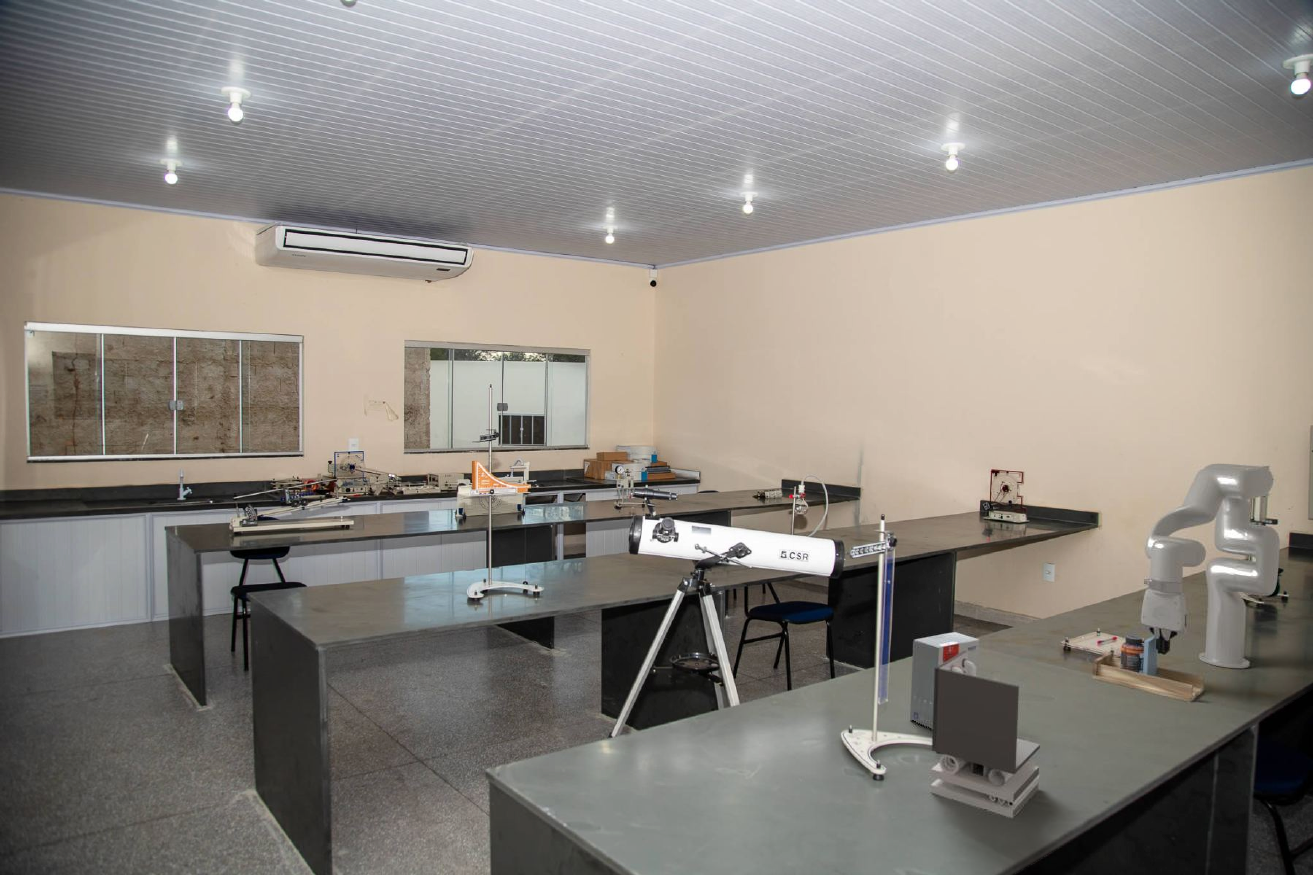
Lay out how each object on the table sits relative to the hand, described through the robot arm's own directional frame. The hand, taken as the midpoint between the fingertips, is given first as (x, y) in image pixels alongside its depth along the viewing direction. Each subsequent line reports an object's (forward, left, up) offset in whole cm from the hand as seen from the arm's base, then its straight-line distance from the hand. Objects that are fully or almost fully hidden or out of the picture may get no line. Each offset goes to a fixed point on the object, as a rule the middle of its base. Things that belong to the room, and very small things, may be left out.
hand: (1162, 652), depth 229 cm
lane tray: (0, -3, -10) cm, 10 cm away
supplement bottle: (0, -7, -9) cm, 11 cm away
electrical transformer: (+95, -4, -10) cm, 96 cm away
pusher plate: (0, -3, -8) cm, 9 cm away
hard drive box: (+67, -28, -10) cm, 73 cm away
